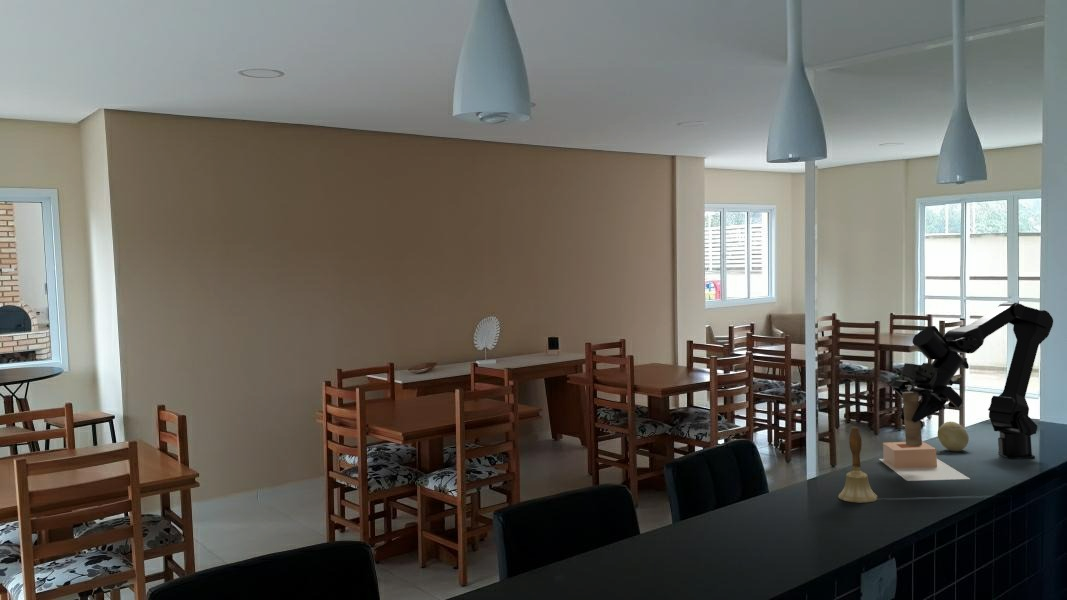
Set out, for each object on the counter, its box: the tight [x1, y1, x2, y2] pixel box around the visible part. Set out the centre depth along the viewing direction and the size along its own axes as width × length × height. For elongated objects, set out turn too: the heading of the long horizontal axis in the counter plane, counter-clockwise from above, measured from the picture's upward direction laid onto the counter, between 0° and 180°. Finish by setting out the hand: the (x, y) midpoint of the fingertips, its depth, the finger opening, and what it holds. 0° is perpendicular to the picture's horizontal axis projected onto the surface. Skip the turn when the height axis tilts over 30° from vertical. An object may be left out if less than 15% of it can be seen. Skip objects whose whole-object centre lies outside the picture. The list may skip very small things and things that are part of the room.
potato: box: [937, 421, 970, 452], centre depth 217 cm, size 8×8×8 cm
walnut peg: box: [902, 392, 923, 446], centre depth 197 cm, size 4×4×13 cm
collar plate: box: [878, 440, 971, 482], centre depth 199 cm, size 14×24×5 cm, turn 171°
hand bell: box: [838, 426, 879, 504], centre depth 178 cm, size 8×8×16 cm
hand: (907, 420), depth 197 cm, fingers closed on walnut peg, 4 cm apart
